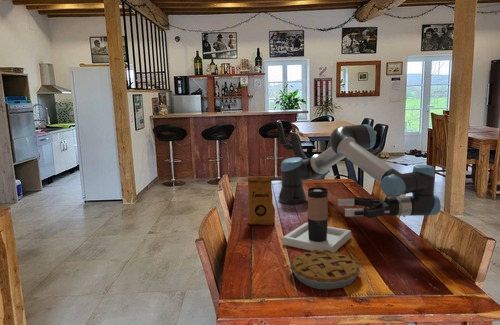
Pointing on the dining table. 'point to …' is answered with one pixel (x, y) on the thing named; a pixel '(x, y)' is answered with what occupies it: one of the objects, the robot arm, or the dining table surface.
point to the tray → (332, 243)
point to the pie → (324, 269)
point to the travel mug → (317, 214)
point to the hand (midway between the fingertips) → (341, 207)
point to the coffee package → (260, 201)
